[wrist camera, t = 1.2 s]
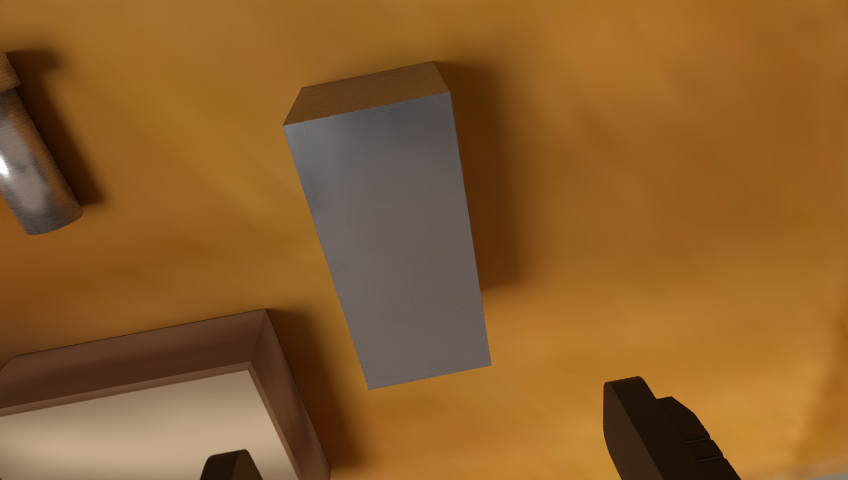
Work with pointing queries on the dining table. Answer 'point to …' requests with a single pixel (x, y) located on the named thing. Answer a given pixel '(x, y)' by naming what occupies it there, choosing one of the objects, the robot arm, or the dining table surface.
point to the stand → (157, 406)
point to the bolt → (29, 166)
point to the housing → (393, 220)
